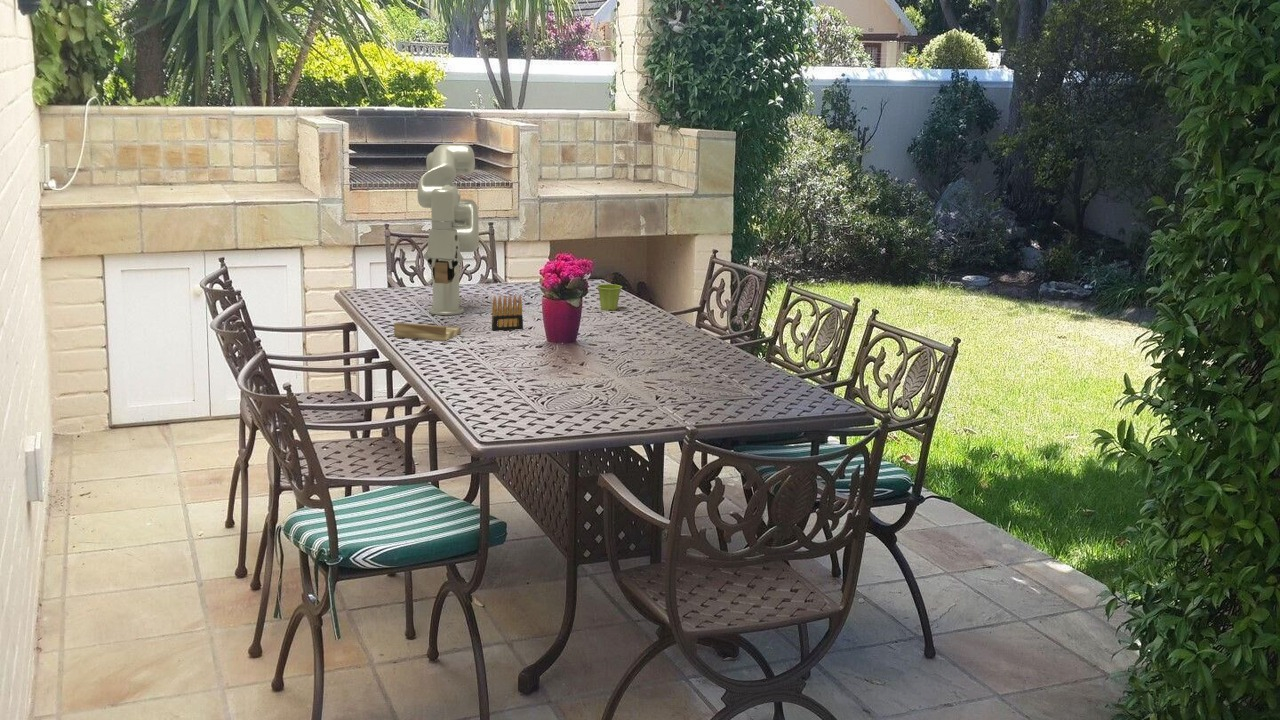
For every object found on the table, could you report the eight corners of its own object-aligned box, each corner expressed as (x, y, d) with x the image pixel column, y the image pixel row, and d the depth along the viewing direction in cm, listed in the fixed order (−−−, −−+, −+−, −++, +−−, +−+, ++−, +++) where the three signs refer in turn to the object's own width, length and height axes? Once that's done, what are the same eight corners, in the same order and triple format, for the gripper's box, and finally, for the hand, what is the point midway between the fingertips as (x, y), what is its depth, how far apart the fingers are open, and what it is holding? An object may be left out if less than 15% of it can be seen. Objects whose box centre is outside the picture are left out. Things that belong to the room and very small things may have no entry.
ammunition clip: (521, 328, 440) (521, 294, 437) (523, 329, 438) (523, 295, 435) (491, 329, 436) (491, 295, 434) (492, 331, 435) (492, 296, 432)
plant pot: (626, 308, 479) (626, 286, 477) (612, 312, 471) (612, 289, 469) (605, 305, 484) (606, 283, 482) (591, 309, 476) (592, 286, 474)
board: (411, 329, 434) (411, 316, 433) (460, 333, 429) (460, 320, 428) (394, 336, 422) (394, 323, 421) (444, 341, 417) (444, 327, 416)
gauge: (448, 277, 442) (448, 257, 440) (460, 278, 441) (460, 258, 439) (434, 282, 431) (434, 262, 430) (447, 283, 430) (446, 263, 428)
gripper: (470, 225, 430) (471, 279, 434) (424, 223, 434) (425, 276, 438) (461, 228, 423) (462, 282, 427) (414, 225, 427) (415, 279, 431)
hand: (443, 278), depth 432 cm, fingers closed on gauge, 4 cm apart
